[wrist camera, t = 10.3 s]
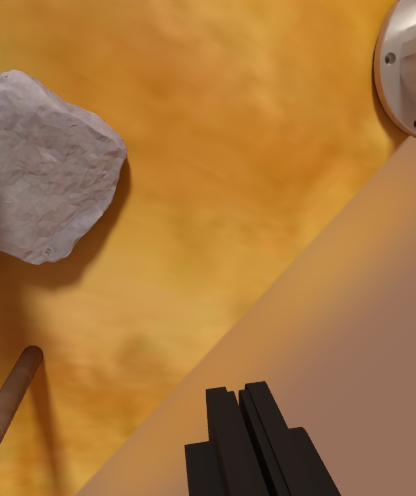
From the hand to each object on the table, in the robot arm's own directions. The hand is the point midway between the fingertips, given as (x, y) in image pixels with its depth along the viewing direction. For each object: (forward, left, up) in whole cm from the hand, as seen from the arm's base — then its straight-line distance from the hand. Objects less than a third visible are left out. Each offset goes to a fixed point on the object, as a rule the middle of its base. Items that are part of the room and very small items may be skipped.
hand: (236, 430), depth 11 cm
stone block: (+9, -6, -22) cm, 25 cm away
